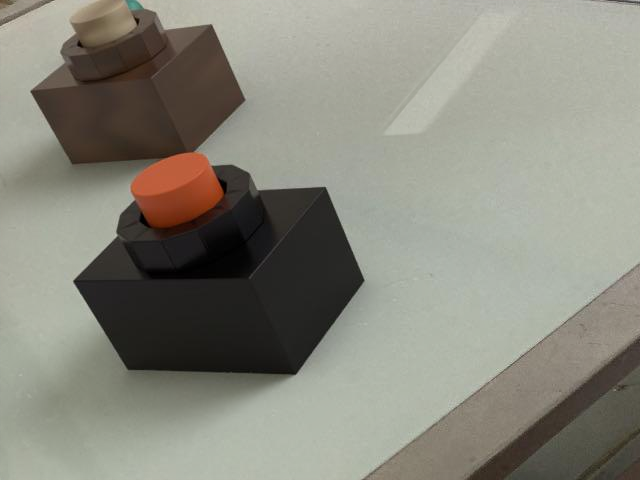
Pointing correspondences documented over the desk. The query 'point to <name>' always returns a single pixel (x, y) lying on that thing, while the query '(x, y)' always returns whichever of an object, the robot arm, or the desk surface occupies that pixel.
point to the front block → (225, 282)
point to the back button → (102, 22)
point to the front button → (176, 190)
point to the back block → (139, 93)
